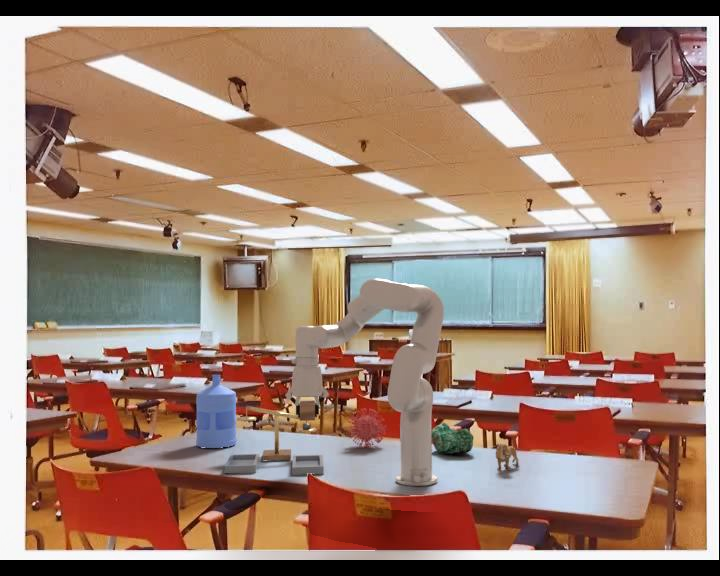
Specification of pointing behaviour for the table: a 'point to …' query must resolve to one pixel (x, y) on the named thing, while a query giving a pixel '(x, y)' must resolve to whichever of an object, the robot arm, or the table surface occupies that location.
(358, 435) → the virus model
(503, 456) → the lion figurine
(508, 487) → the table surface
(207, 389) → the water jug
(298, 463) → the dish low side
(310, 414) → the walnut block
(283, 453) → the balance
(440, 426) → the mineral
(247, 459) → the dish high side
